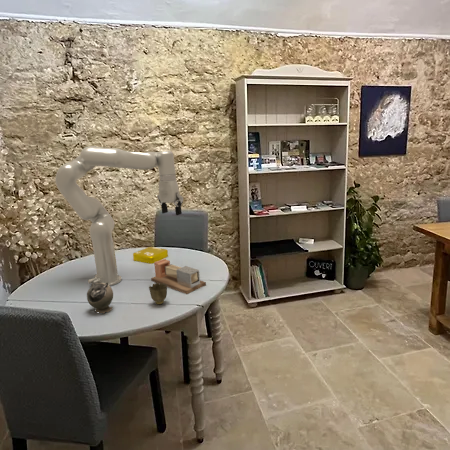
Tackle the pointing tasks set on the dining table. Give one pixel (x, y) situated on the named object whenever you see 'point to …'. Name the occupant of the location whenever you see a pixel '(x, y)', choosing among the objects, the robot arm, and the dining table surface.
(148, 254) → the element tile
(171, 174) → the robot arm
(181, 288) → the walnut board
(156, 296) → the cup
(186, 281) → the metal sleeve
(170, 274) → the tube
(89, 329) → the dining table surface
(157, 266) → the terracotta socket
